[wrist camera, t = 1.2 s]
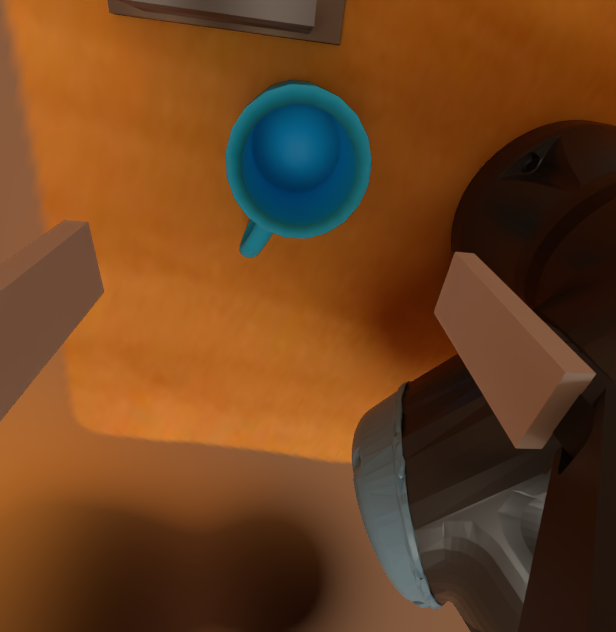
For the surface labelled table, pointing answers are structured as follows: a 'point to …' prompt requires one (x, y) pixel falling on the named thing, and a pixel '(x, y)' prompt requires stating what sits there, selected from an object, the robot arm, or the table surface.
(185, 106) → the table surface
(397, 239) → the table surface
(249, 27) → the holder
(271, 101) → the mug
